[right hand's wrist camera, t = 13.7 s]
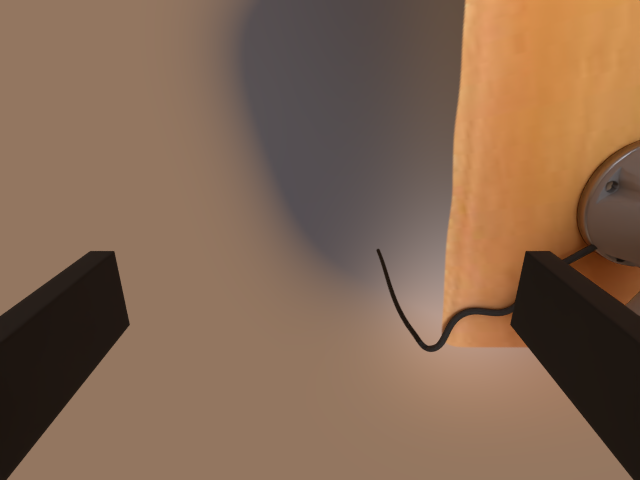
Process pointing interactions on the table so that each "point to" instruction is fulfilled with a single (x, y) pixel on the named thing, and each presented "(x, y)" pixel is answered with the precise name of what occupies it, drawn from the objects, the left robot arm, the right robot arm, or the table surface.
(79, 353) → the right robot arm
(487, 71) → the table surface
